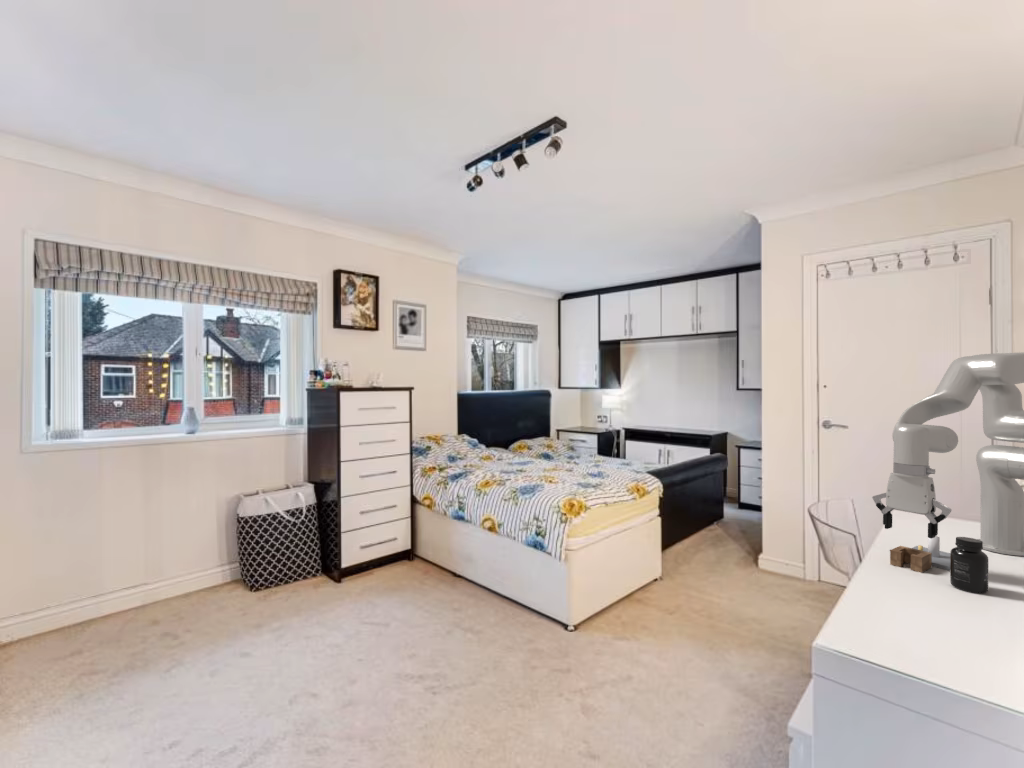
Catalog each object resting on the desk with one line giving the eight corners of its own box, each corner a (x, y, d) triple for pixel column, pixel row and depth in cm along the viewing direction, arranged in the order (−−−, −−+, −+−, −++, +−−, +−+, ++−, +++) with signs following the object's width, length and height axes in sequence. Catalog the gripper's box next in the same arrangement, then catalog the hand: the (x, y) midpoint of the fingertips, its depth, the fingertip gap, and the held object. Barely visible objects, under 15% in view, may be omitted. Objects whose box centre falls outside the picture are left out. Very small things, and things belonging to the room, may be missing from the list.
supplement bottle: (996, 595, 115) (996, 544, 115) (962, 592, 116) (962, 542, 116) (974, 583, 121) (975, 536, 121) (943, 581, 123) (943, 534, 123)
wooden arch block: (931, 567, 132) (931, 552, 132) (921, 572, 128) (921, 557, 128) (900, 559, 138) (900, 545, 138) (890, 564, 134) (890, 550, 134)
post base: (917, 549, 147) (917, 527, 147) (969, 561, 137) (969, 538, 137) (898, 557, 140) (898, 535, 140) (952, 571, 130) (952, 546, 130)
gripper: (956, 474, 128) (955, 539, 128) (879, 465, 143) (878, 523, 142) (946, 476, 124) (945, 543, 124) (868, 466, 138) (866, 526, 138)
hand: (909, 532), depth 133 cm, fingers open, 9 cm apart
